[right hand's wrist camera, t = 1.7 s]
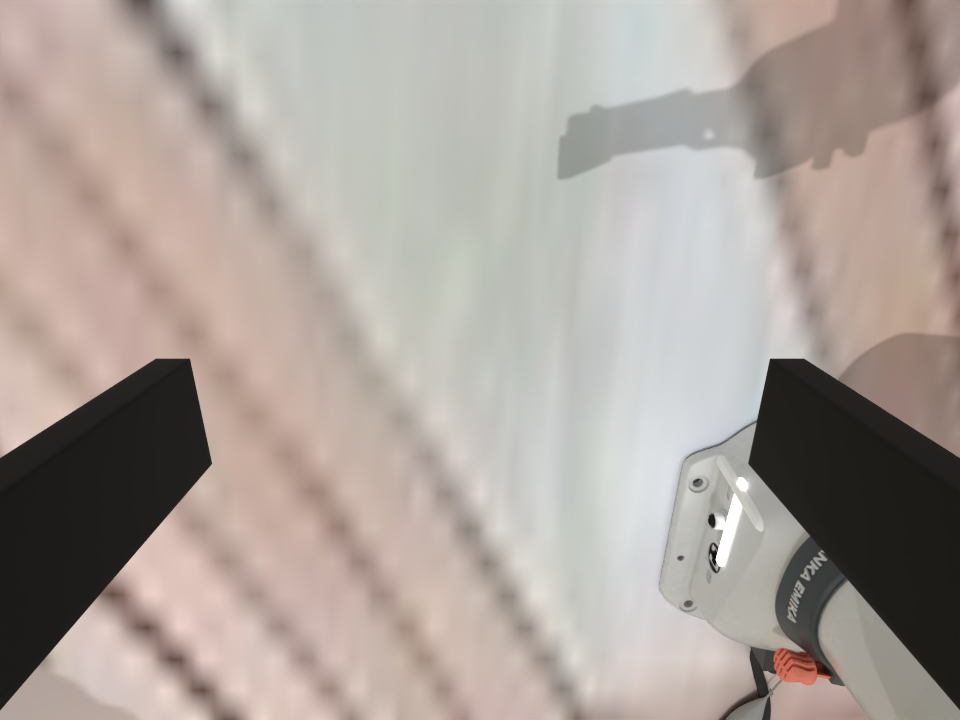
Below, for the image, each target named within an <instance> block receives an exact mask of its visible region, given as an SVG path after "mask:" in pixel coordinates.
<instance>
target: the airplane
mask: <svg viewBox="0 0 960 720" xmlns="http://www.w3.org/2000/svg"><path fill="white" fill-rule="evenodd" d="M781 681H782V680H780V681H779V682H778V683H777V684H776V685H775V687H774V688H773V689H772V690H771V689H770V691H769V690H768V691H769V693H768V694H767V695H766V696H765V697H763V698H759V699H756V700H753V701H751V702H748V703H746V704H744V705H742V706H740V707H738V708H737V709H736V710H734V711H733V712H732V713H731V714H730V715H729V716H728V717H727V718H726V719H725V720H762V718H763V714H764V709H765V705H766V701H767V699H768V697H769V696H770V694H771V693H772V694H771V696H772V695H773V691H774V690H775V689H776V687H777V686H778V685H779V684H780V683H781Z"/></svg>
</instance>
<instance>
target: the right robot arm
mask: <svg viewBox="0 0 960 720" xmlns="http://www.w3.org/2000/svg"><path fill="white" fill-rule="evenodd" d="M211 464H212V461H211V457H210V452H209V447H208V442H207V438H206V433H205V428H204V423H203V419H202V414H201V409H200V405H199V400H198V395H197V390H196V386H195V381H194V376H193V371H192V367H191V362H190V359H155V360H153V361H152V362H150V363H149V364H147V365H145V366H144V367H142V368H141V369H139V370H138V371H136V372H134V373H133V374H131V375H130V376H128V377H127V378H125V379H124V380H122V381H120V382H119V383H117V384H116V385H114V386H113V387H111V388H109V389H108V390H106V391H105V392H103V393H102V394H100V395H98V396H97V397H95V398H94V399H92V400H91V401H89V402H87V403H86V404H84V405H83V406H81V407H80V408H78V409H77V410H75V411H73V412H72V413H70V414H69V415H67V416H66V417H64V418H62V419H61V420H59V421H58V422H56V423H55V424H53V425H51V426H50V427H48V428H47V429H45V430H44V431H42V432H41V433H39V434H37V435H36V436H34V437H33V438H31V439H30V440H28V441H26V442H25V443H23V444H22V445H20V446H19V447H17V448H15V449H14V450H12V451H11V452H9V453H8V454H6V455H4V456H3V457H1V458H0V710H1V709H2V708H3V706H4V705H5V704H6V703H7V702H8V701H9V699H10V698H11V697H12V696H13V695H14V694H15V692H16V691H17V690H18V689H19V688H20V687H21V685H22V684H23V683H24V682H25V681H26V680H27V679H28V677H29V676H30V675H31V674H32V673H33V672H34V670H35V669H36V668H37V667H38V666H39V665H40V663H41V662H42V661H43V660H44V659H45V658H46V656H47V655H48V654H49V653H50V652H51V651H52V649H53V648H54V647H55V646H56V645H57V644H58V642H59V641H60V640H61V639H62V638H63V637H64V635H65V634H66V633H67V632H68V631H69V630H70V628H71V627H72V626H73V625H74V624H75V623H76V621H77V620H78V619H79V618H80V617H81V616H82V615H83V613H84V612H85V611H86V610H87V609H88V608H89V606H90V605H91V604H92V603H93V602H94V601H95V599H96V598H97V597H98V596H99V595H100V594H101V592H102V591H103V590H104V589H105V588H106V587H107V585H108V584H109V583H110V582H111V581H112V580H113V578H114V577H115V576H116V575H117V574H118V573H119V571H120V570H121V569H122V568H123V567H124V566H125V564H126V563H127V562H128V561H129V560H130V559H131V557H132V556H133V555H134V554H135V553H136V552H137V550H138V549H139V548H140V547H141V546H142V545H143V544H144V542H145V541H146V540H147V539H148V538H149V537H150V535H151V534H152V533H153V532H154V531H155V530H156V528H157V527H158V526H159V525H160V524H161V523H162V521H163V520H164V519H165V518H166V517H167V516H168V514H169V513H170V512H171V511H172V510H173V509H174V507H175V506H176V505H177V504H178V503H179V502H180V500H181V499H182V498H183V497H184V496H185V495H186V493H187V492H188V491H189V490H190V489H191V488H192V486H193V485H194V484H195V483H196V482H197V481H198V480H199V478H200V477H201V476H202V475H203V474H204V473H205V471H206V470H207V469H208V468H209V467H210V466H211ZM748 464H749V466H750V467H751V468H752V469H753V470H754V471H755V473H756V474H757V475H758V476H759V477H760V478H761V480H762V481H763V482H764V483H765V484H766V485H767V486H768V488H769V489H770V490H771V491H772V492H773V493H774V495H775V496H776V497H777V498H778V499H779V500H780V502H781V503H782V504H783V505H784V506H785V507H786V509H787V510H788V511H789V512H790V513H791V514H792V516H793V517H794V518H795V519H796V520H797V521H798V523H799V524H800V525H801V526H802V527H803V528H804V530H805V531H806V532H807V533H808V534H809V535H810V537H811V538H812V539H813V540H814V541H815V542H816V544H817V545H818V546H819V547H820V548H821V549H822V550H823V552H824V553H825V554H826V555H827V556H828V557H829V559H830V560H831V561H832V562H833V563H834V564H835V566H836V567H837V568H838V569H839V570H840V571H841V573H842V574H843V575H844V576H845V577H846V578H847V580H848V581H849V582H850V583H851V584H852V585H853V587H854V588H855V589H856V590H857V591H858V592H859V594H860V595H861V596H862V597H863V598H864V599H865V601H866V602H867V603H868V604H869V605H870V606H871V608H872V609H873V610H874V611H875V612H876V613H877V615H878V616H879V617H880V618H881V619H882V620H883V621H884V623H885V624H886V625H887V626H888V627H889V628H890V630H891V631H892V632H893V633H894V634H895V635H896V637H897V638H898V639H899V640H900V641H901V642H902V644H903V645H904V646H905V647H906V648H907V649H908V651H909V652H910V653H911V654H912V655H913V656H914V658H915V659H916V660H917V661H918V662H919V663H920V665H921V666H922V667H923V668H924V669H925V670H926V672H927V673H928V674H929V675H930V676H931V677H932V679H933V680H934V681H935V682H936V683H937V684H938V685H939V687H940V688H941V689H942V690H943V691H944V692H945V694H946V695H947V696H948V697H949V698H950V699H951V701H952V702H953V703H954V704H955V705H956V706H957V708H958V709H959V710H960V458H959V457H957V456H956V455H954V454H952V453H951V452H949V451H948V450H946V449H945V448H943V447H941V446H940V445H938V444H937V443H935V442H934V441H932V440H930V439H929V438H927V437H926V436H924V435H923V434H921V433H919V432H918V431H916V430H915V429H913V428H912V427H910V426H909V425H907V424H905V423H904V422H902V421H901V420H899V419H898V418H896V417H894V416H893V415H891V414H890V413H888V412H887V411H885V410H883V409H882V408H880V407H879V406H877V405H876V404H874V403H873V402H871V401H869V400H868V399H866V398H865V397H863V396H862V395H860V394H858V393H857V392H855V391H854V390H852V389H851V388H849V387H847V386H846V385H844V384H843V383H841V382H840V381H838V380H836V379H835V378H833V377H832V376H830V375H829V374H827V373H826V372H824V371H822V370H821V369H819V368H818V367H816V366H815V365H813V364H811V363H810V362H808V361H807V360H805V359H770V362H769V367H768V371H767V376H766V381H765V386H764V390H763V395H762V400H761V405H760V409H759V414H758V419H757V423H756V428H755V433H754V438H753V442H752V447H751V452H750V457H749V461H748Z"/></svg>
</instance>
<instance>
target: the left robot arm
mask: <svg viewBox="0 0 960 720" xmlns="http://www.w3.org/2000/svg"><path fill="white" fill-rule="evenodd" d="M756 423H757V422H756ZM756 423H754V424H752V425H751V426H749V427H747V428H745V429H744V430H742V431H741V432H739V433H738V434H737V435H735V436H734V437H732V438H731V439H730V440H728V441H727V442H725V443H723V444H721V445H720V446H716V447H713V448H710V449H706V450H703V451H700V452H697V453H695V454H693V455H691V456H689V457H688V458H687V459H686V460H685V461H684V463H683V466H682V470H681V475H680V480H679V485H678V490H677V496H676V501H675V506H674V511H673V516H672V521H671V526H670V532H669V537H668V542H667V547H666V552H665V557H664V563H663V568H662V573H661V578H660V584H659V590H660V592H661V594H662V595H663V597H664V598H665V599H666V600H667V601H668V602H669V603H670V604H671V605H673V606H674V607H676V608H677V609H679V610H681V611H683V612H685V613H687V614H689V615H692V616H695V617H698V618H701V619H704V620H706V621H707V622H708V623H709V624H710V625H711V626H712V627H713V628H714V629H715V630H716V631H718V632H719V633H720V634H722V635H724V636H725V637H727V638H729V639H731V640H734V641H736V642H739V643H742V644H745V645H748V646H750V647H751V649H752V651H751V652H750V661H751V666H752V670H753V675H754V679H755V682H756V686H757V689H758V693H759V698H763V697H765V696H766V695H767V694H768V693H769V692H768V688H767V684H766V680H765V677H764V673H763V671H769V672H770V673H773V674H777V675H778V676H780V679H781V680H784V681H785V682H801V683H803V684H805V685H811V684H813V683H814V682H815V680H816V678H817V677H821V678H827V679H829V681H830V682H831V683H832V684H836V685H840V686H846V688H847V689H848V690H849V692H850V693H851V695H852V696H853V698H854V699H855V701H856V702H857V704H858V705H859V707H860V708H861V710H862V711H863V712H864V714H865V715H866V717H867V718H868V720H960V710H959V709H958V708H957V706H956V705H955V704H954V703H953V702H952V701H951V699H950V698H949V697H948V696H947V695H946V694H945V692H944V691H943V690H942V689H941V688H940V687H939V685H938V684H937V683H936V682H935V681H934V680H933V679H932V677H931V676H930V675H929V674H928V673H927V672H926V670H925V669H924V668H923V667H922V666H921V665H920V663H919V662H918V661H917V660H916V659H915V658H914V656H913V655H912V654H911V653H910V652H909V651H908V649H907V648H906V647H905V646H904V645H903V644H902V642H901V641H900V640H899V639H898V638H897V637H896V635H895V634H894V633H893V632H892V631H891V630H890V628H889V627H888V626H887V625H886V624H885V623H884V621H883V620H882V619H881V618H880V617H879V616H878V615H877V613H876V612H875V611H874V610H873V609H872V608H871V606H870V605H869V604H868V603H867V602H866V601H865V599H864V598H863V597H862V596H861V595H860V594H859V592H858V591H857V590H856V589H855V588H854V587H853V585H852V584H851V583H850V582H849V581H848V580H847V578H846V577H845V576H844V575H843V574H842V573H841V571H840V570H839V569H838V568H837V567H836V566H835V564H834V563H833V562H832V561H831V560H830V559H829V557H828V556H827V555H826V554H825V553H824V552H823V550H822V549H821V548H820V547H819V546H818V545H817V544H816V542H815V541H814V540H813V539H812V538H811V537H810V535H809V534H808V533H807V532H806V531H805V530H804V528H803V527H802V526H801V525H800V524H799V523H798V521H797V520H796V519H795V518H794V517H793V516H792V514H791V513H790V512H789V511H788V510H787V509H786V507H785V506H784V505H783V504H782V503H781V502H780V500H779V499H778V498H777V497H776V496H775V495H774V493H773V492H772V491H771V490H770V489H769V488H768V486H767V485H766V484H765V483H764V482H763V481H762V480H761V478H760V477H759V476H758V475H757V474H756V473H755V471H754V470H753V469H752V468H751V467H750V466H749V464H748V461H749V457H750V452H751V447H752V442H753V438H754V433H755V428H756ZM698 478H699V480H698V481H697V482H693V481H694V480H695V479H698ZM762 669H763V670H762ZM770 715H771V704H770V697H768V699H767V701H766V705H765V709H764V714H763V718H762V720H770Z"/></svg>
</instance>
